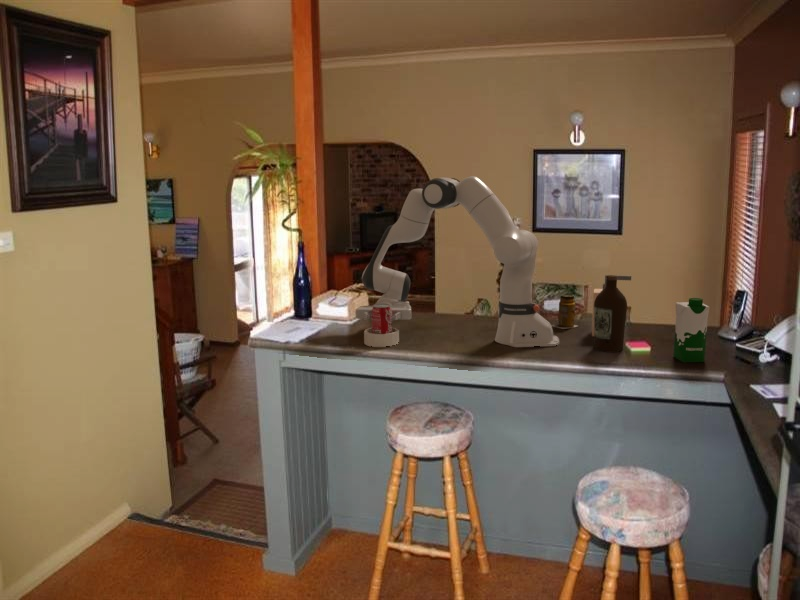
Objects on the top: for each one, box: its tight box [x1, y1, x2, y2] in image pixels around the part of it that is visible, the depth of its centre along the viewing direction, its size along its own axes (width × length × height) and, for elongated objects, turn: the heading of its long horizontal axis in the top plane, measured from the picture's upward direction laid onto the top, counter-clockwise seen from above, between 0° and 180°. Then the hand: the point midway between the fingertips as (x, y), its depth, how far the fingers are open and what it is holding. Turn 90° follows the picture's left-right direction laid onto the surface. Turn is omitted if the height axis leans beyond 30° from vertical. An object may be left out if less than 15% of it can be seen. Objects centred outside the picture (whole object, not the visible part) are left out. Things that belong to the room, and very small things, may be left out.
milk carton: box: [673, 297, 711, 363], centre depth 224 cm, size 9×9×20 cm
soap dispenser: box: [591, 274, 632, 337], centre depth 257 cm, size 13×9×22 cm
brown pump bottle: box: [593, 274, 628, 353], centre depth 238 cm, size 11×11×25 cm
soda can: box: [371, 303, 393, 334], centre depth 249 cm, size 7×7×13 cm
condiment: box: [551, 294, 578, 330], centre depth 273 cm, size 7×8×12 cm
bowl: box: [363, 326, 400, 348], centre depth 251 cm, size 12×12×4 cm
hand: (380, 317), depth 249 cm, fingers open, 8 cm apart
